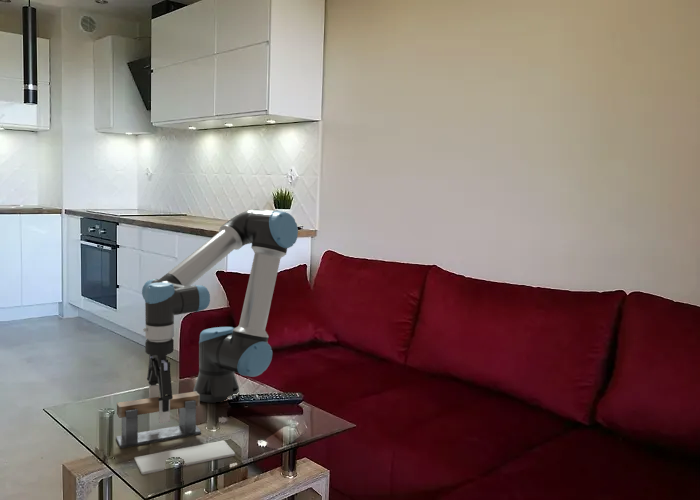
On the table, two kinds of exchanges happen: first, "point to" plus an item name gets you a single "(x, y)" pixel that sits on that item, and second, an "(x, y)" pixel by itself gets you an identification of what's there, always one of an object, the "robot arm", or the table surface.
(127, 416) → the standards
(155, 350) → the robot arm
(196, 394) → the rail
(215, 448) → the mat
